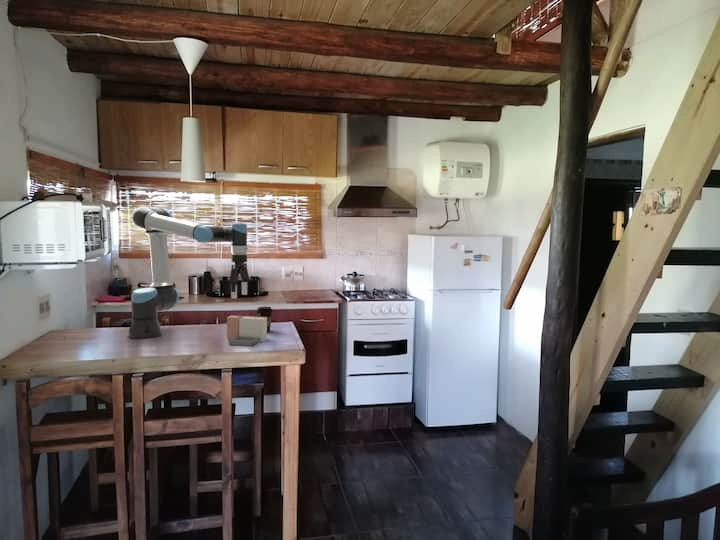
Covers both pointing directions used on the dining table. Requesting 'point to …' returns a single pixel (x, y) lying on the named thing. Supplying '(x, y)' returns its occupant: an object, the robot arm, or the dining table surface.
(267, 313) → the coffee cup
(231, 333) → the stub
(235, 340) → the tray
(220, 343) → the dining table surface
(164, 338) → the dining table surface
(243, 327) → the boxy square-sided block
